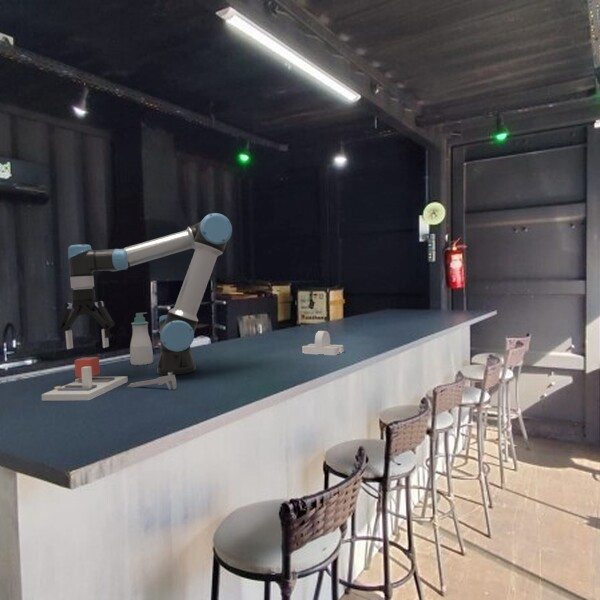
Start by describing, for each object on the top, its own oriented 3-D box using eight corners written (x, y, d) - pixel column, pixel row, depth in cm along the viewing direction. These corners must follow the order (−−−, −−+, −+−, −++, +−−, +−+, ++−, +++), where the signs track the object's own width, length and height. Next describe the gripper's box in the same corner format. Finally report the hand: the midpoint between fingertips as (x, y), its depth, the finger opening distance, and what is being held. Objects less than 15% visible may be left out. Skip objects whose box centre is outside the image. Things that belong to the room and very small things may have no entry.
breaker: (92, 387, 157) (91, 366, 157) (88, 388, 155) (87, 367, 155) (86, 387, 158) (84, 366, 157) (82, 388, 155) (81, 367, 155)
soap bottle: (158, 362, 213) (155, 312, 212) (140, 366, 205) (137, 314, 204) (143, 361, 219) (141, 312, 217) (125, 364, 210) (123, 313, 209)
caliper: (176, 390, 160) (176, 371, 160) (174, 390, 159) (174, 372, 159) (129, 386, 168) (128, 369, 167) (126, 387, 167) (125, 369, 166)
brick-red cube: (99, 373, 172) (98, 357, 171) (91, 376, 166) (90, 359, 165) (84, 373, 172) (83, 357, 172) (75, 377, 166) (74, 360, 166)
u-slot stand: (336, 356, 216) (335, 332, 216) (301, 354, 225) (300, 331, 224) (344, 352, 225) (343, 330, 224) (310, 350, 233) (309, 329, 233)
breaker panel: (127, 381, 175) (127, 374, 175) (89, 400, 149) (88, 391, 149) (86, 382, 177) (86, 374, 177) (41, 400, 151) (41, 392, 151)
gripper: (121, 286, 170) (126, 344, 171) (56, 290, 172) (61, 347, 174) (110, 287, 162) (115, 348, 164) (43, 290, 165) (48, 350, 166)
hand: (88, 347), depth 169 cm, fingers open, 13 cm apart
